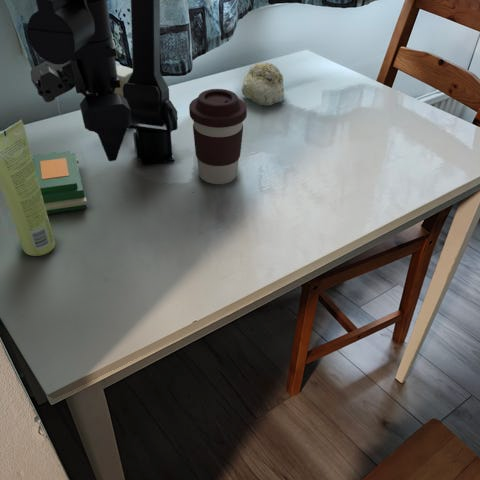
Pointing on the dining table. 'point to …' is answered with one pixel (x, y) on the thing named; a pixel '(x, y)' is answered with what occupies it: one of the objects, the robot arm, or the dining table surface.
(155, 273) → the dining table surface
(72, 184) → the stack of green books
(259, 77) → the decorative item
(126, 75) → the box
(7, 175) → the tube
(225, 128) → the coffee cup
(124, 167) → the dining table surface
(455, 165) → the dining table surface
